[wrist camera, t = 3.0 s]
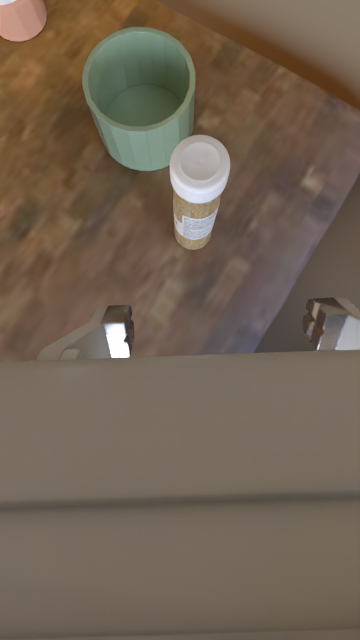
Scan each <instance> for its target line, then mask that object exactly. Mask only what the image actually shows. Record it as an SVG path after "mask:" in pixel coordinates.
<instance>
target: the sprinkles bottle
mask: <svg viewBox="0 0 360 640" xmlns="http://www.w3.org/2000/svg"><path fill="white" fill-rule="evenodd" d="M229 171H230V158H229V154H228V152H227V150H226V148H225V147H224V146H223V145H222V143H220V142H219V141H218V140H216V139H215V138H213V137H210V136H207V135H194V136H190V137H188V138H186V139H184V140H182V141H181V142H180V143H179V144H178V145H177V146H176V147H175V149H174V151H173V153H172V155H171V158H170V179H171V183H172V186H173V194H174V195H173V196H174V199H173V208H174V224H175V229H174V233H175V237H176V240H177V241H178V243H179V244H180V245H182V246H183V247H185V248H187V249H193V250H195V249H199V248H202V247H203V246H205V245H206V244H207V243H208V241H209V239H210V237H211V230H212V227H213V224H214V221H215V217H216V214H217V210H218V207H219V203H220V197H221V193H222V191H223V190H224V188H225V186H226V183H227V180H228V176H229Z"/></svg>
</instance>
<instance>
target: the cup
mask: <svg viewBox="0 0 360 640" xmlns="http://www.w3.org/2000/svg"><path fill="white" fill-rule="evenodd" d="M82 88H83V91H84V95H85V98H86V102H87V104H88V107H89V109H90V112H91V114H92V117H93V119H94V122H95V124H96V127H97V129H98V132H99V134H100V137H101V139H102V142H103V144H104V146H105V147H106V149H107V151H108V152H109V154H110V155H111V156H112V157H113V158H114V159H115V160H116V161H117V162H119V163H120V164H122V165H124V166H125V167H128V168H130V169H134V170H139V171H154V170H158V169H162V168H164V167H167V166H169V165H170V158H171V155H172V153H173V151H174V149H175V147H176V146H177V145H178V144H179V143H180V142H181V141H182V140H184V139H186V138H188V137H190V136H192V132H193V118H194V99H195V69H194V66H193V63H192V59H191V56H190V55H189V53H188V52H187V51H186V49H185V48H184V47H183V45H182V44H181V43H180V42H179V41H178V40H176V39H175V38H173V37H172V36H171V35H169V34H168V33H166V32H163V31H160V30H157V29H153V28H149V27H130V28H126V29H123V30H119V31H116V32H114V33H112V34H111V35H109V36H108V37H106V38H104V39H103V40H101V41H100V42H99V43H98V44H97V45H96V47H95V48H94V49H93V50H92V51H91V52H90V54H89V56H88V59H87V61H86V63H85V66H84V68H83V78H82Z"/></svg>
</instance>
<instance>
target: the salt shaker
mask: <svg viewBox="0 0 360 640" xmlns="http://www.w3.org/2000/svg"><path fill="white" fill-rule="evenodd" d="M46 19H47V11H46V7H45V4H44V2H43V0H0V36H2V37H3V38H4V39H7V40H10V41H18V42H21V41H25V40H29V39H31V38H33V37H35V36H36V35H38V33H39V32H40V31H41V30H42V29H43V27H44V25H45V23H46Z"/></svg>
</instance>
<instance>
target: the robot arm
mask: <svg viewBox="0 0 360 640" xmlns="http://www.w3.org/2000/svg"><path fill="white" fill-rule="evenodd" d="M306 309H307V311H308V312H307V313H306V314H305V315H304V316H303V321H302V324H303V325H302V326H303V330H304V333H305V334H306V335H307V336H309V337H311V340H310V342H311V343H312V344H313V346H314V347H315V349H316V350H330V351H302V352H276V353H275V352H274V353H245V354H216V355H188V356H159V357H130V355H131V350H132V344H131V343H132V342H133V341H134V323H133V321H132V320H131V317H132V310H131V306H130V305H119V306H108V305H107V306H97V307H96V309H95V311H94V313H93V315H92V317H91V319H90V321H89V323H88V324H85V325H83V326H81V327H79V328H78V329H76V330H74V331H72V332H71V333H69V334H67V335H66V336H64V337H62V338H60V339H59V340H57V341H55V342H53V343H52V344H50V345H48V346H46V347H45V348H43V349H42V350H41V351H40V353H39V354H38V356H37V357H36V359H35V360H34V361H18V362H0V640H360V310H358V309H357V308H356V307H355V306H354V305H353V304H352V303H351V302H349V301H348V300H347V299H346V298H344V297H335V298H317V299H309V300H308V302H307V304H306ZM120 357H130V358H120Z"/></svg>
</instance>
